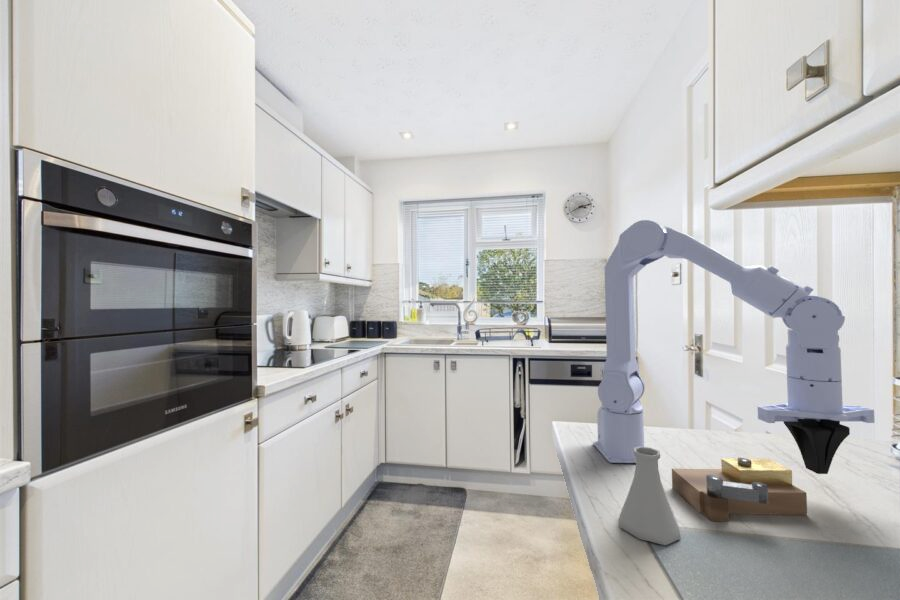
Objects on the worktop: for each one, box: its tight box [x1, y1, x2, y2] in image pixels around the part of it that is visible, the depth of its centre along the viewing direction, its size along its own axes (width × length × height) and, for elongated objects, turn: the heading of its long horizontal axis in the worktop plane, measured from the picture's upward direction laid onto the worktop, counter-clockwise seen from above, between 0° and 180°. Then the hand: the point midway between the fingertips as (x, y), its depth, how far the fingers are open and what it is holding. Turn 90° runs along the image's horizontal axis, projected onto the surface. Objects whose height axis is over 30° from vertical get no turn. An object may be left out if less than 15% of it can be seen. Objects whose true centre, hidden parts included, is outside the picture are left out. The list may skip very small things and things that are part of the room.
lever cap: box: [720, 457, 793, 485], centre depth 54 cm, size 4×7×3 cm, turn 86°
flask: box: [618, 446, 682, 546], centre depth 48 cm, size 7×7×10 cm
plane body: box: [671, 468, 808, 522], centre depth 53 cm, size 9×14×3 cm, turn 86°
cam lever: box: [706, 475, 769, 504], centre depth 49 cm, size 7×2×2 cm, turn 70°
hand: (816, 470), depth 54 cm, fingers closed
